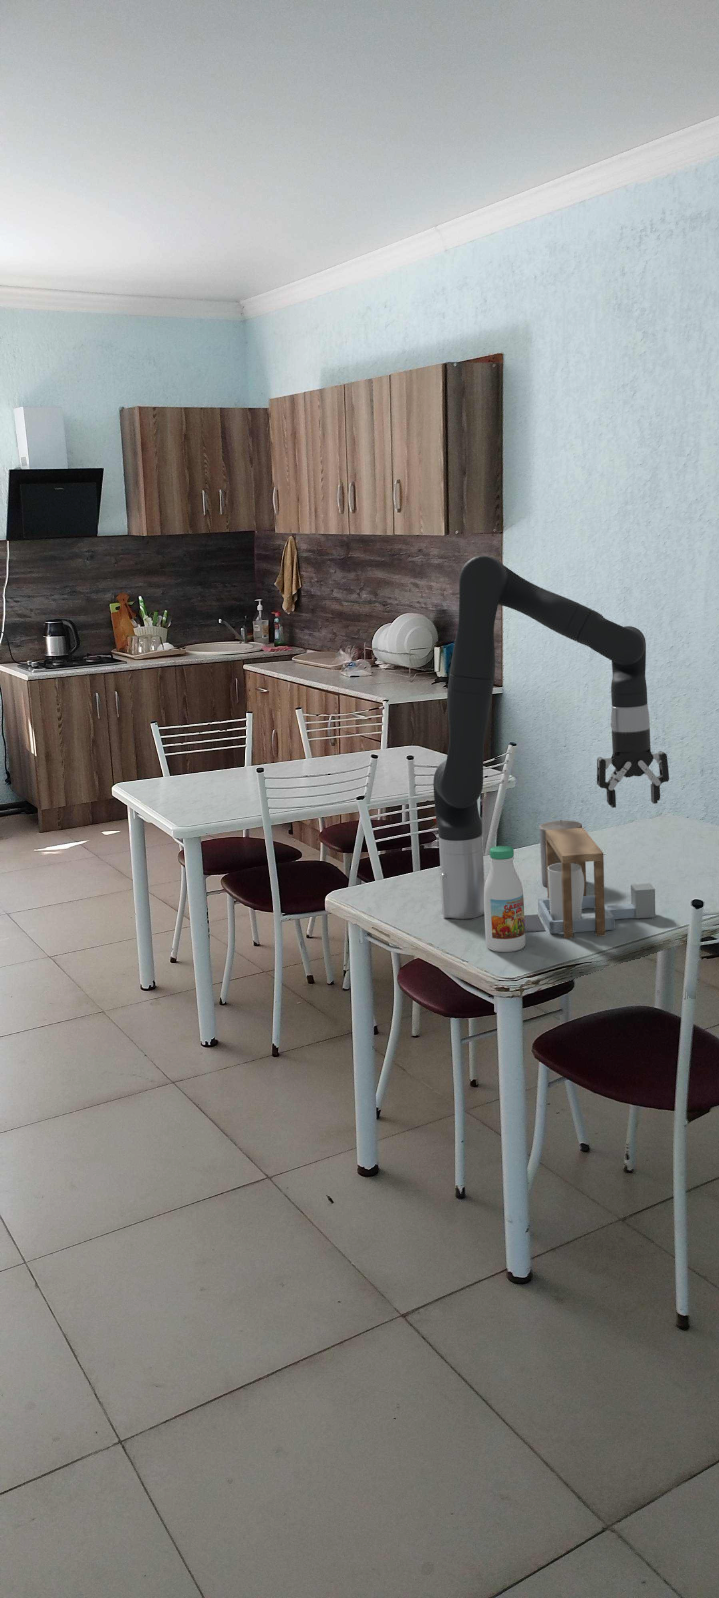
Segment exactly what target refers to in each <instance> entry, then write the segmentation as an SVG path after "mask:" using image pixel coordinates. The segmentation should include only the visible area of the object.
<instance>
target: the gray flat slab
mask: <svg viewBox="0 0 719 1598" xmlns="http://www.w3.org/2000/svg"><path fill="white" fill-rule="evenodd" d="M524 917H525V934H526V933H536V932H538V933H539V932H546V928H545V926H544V924H543V922H542V920H541V918H540V916H539V914H524Z"/></svg>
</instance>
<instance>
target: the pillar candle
mask: <svg viewBox="0 0 719 1598" xmlns="http://www.w3.org/2000/svg"><path fill="white" fill-rule="evenodd" d="M538 828H539V845H540V846H539V848H540V866H541V867H540V873H541V884H542V885H543V887H545V888H547V862H546V833H545V830H558V829H573V828H583V824H582V822H579V821H575V820H566V819H565V820H564V819H560V820H552V821H546V822H545V823H541V824H540V825H539V827H538ZM556 863H561V860H560V859H559V857H558V856H557V854H556V852H555V864H556ZM575 864H577V862H575Z"/></svg>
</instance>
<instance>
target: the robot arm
mask: <svg viewBox="0 0 719 1598" xmlns="http://www.w3.org/2000/svg"><path fill="white" fill-rule="evenodd" d="M458 597H459V599H458V620H457V621H458V623H457V630H456V634H455V640H454V643H453V649H452V657H451V662H450V667H449V674H448V675H449V676H448V684H447V691H446V692H447V693H446V695H447V696H446V703H447V706H446V707H447V719H448V721H447V722H448V728H449V731H448V732H449V733H448V734H449V742H448V748H447V749H448V750H447V755H446V760H444V761H442V763H440V764H439V765H438V767H436V770H435V772H434V774H433V775H434V776H433V783H432V785H433V799H434V812H435V813H434V814H435V821H436V826H437V830H438V831H437V832H438V846H439V864H440V865H439V880H440V881H439V882H440V883H439V884H440V897H441V901H440V902H441V911H442V914H443V918H445V919H446V918H447V919H448V918H449V919H450V918H451V919H456V920H458V919H459V920H467V919H469V920H470V919H475V918H478V917H481V916H483V915H485V912H484V887H485V882H486V880H485V865H484V844H483V843H484V841H483V823H482V819H481V816H480V812H479V806H478V800H479V798H480V796H482V795H481V794H482V792H483V787H484V757H485V756H484V754H485V753H484V751H485V741H486V735H487V729H488V724H489V717H490V711H491V705H492V698H493V692H494V684H495V677H496V676H495V675H496V649H495V636H494V635H495V623H496V622H495V621H496V616H497V612H498V607H499V606H503V607H507V608H509V609H512V610H514V611H516V612H519V613H521V614H523V615H525V616H527V617H529V618H530V619H533V620H535V621H536V622H537V623H540V624H541V625H543V626H545V628H548V629H550V630H551V631H554V632H555V633H557V634H558V635H559V634H560V635H562V636H563V637H565V638H567V639H570V640H572V641H574V642H576V643H579V644H581V645H582V646H583V645H584V646H585V647H589V648H590V649H591V650H592V651H594V652H595V653H597V654H599V655H602V657H605V658H606V659H608V660H610V661H611V669H612V679H611V685H610V693H611V695H610V697H611V714H610V728H611V742H612V743H611V747H612V748H611V749H612V755H611V757H608V758H607V757H605V758H604V757H601V756H599V757H597V759H596V786H598V787H599V788H600V789H605V790H606V802H607V805H609V806H610V807H611V808H612V809H613V808H617V800H616V799H617V798H616V797H617V796H616V794H617V793H616V789H615V788H616V787H617V785H618V784H619V783H620V782H621V780H622V779H623V778H624V777H625V778H631V777H632V778H633V777H642V776H643V775H645V776H646V778H648V780H649V781H650V782H651V783H650V799H651V800H650V801H651V803H652V804H655V805H656V804H658V803H659V802H658V801H660V800H661V785H662V784H663V783H666V782H667V783H668V782H669V781H670V773H669V772H670V771H669V764H668V763H669V762H668V754H667V753H666V752H665V751H662V750H659V751H658V752H656V753H655V752H654V753H652V749H651V726H650V725H651V724H650V721H651V720H650V711H649V707H648V687H647V680H646V679H647V678H646V669H647V667H646V665H647V664H646V663H647V641H646V638H645V635H644V633H643V632H642V631H641V630H640V629H638V628H637V627H635V626H631V625H625V626H623V625H620V624H617V623H615V622H614V621H612V620H609V619H607V618H605V616H603V615H602V614H601V613H600V612H599V611H596V610H594V609H592V608H590V607H587V606H585V605H584V604H581V603H579V602H577V601H574V600H572V599H570V598H567V597H565V596H562V595H560V594H557V593H554V592H552V591H550V590H547V589H545V588H543V587H540V586H538V585H537V584H534V583H532V582H531V581H528V580H527V579H525V578H524V577H521V576H520V575H519V574H517V573H516V572H514V571H512V569H510V568H508V567H507V566H505V565H504V564H503V563H502V562H501V561H500V559H497V558H496V557H493V556H489V555H488V556H487V555H477V556H474V557H472V558H470V559H469V560H468V561H467V562H465V564H464V565H463V566H462V568H461V571H460V573H459V577H458ZM653 761H655V763H657V764H658V770H659V775H658V776H657V775H655V773H654V772H653V771H652V769H650V766H651V764H652V763H653ZM610 765H612V766H613V767H614V768H615V769H614V770H613V771H612V773H611V775H610V776H609V778H608V780H607V781H606V779H607V778H606V773H607V771H606V770H608V769H609V766H610Z"/></svg>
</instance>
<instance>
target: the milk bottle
mask: <svg viewBox="0 0 719 1598" xmlns="http://www.w3.org/2000/svg"><path fill="white" fill-rule="evenodd" d="M514 851H515V850H514V847H512V846H510V845H497V846H496V845H495V846H493V847H491V848H490V850H489V857H490V862H491V864H490V868H489V869H490V870H489V872H488V875H487V876H486V880H485V887H484V912H485V914H484V931H485V945H486V947H487V948H488V949H489V950H491V951H493V952H500V953H511V952H518V951H520V950H522V949H523V948H524V947H525V945H526V933H525V917H524V915H525V901H524V899H525V898H524V889H523V885H522V881H521V879H520V877H519V875H518V873H517V871H516V868H515V865H514V860H515V857H514V855H515V852H514Z"/></svg>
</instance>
